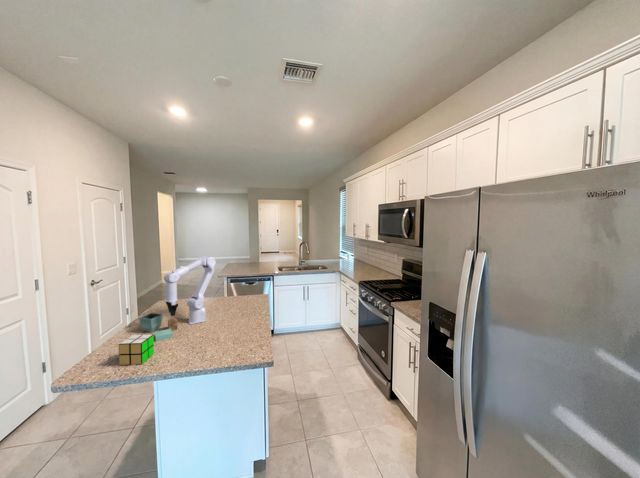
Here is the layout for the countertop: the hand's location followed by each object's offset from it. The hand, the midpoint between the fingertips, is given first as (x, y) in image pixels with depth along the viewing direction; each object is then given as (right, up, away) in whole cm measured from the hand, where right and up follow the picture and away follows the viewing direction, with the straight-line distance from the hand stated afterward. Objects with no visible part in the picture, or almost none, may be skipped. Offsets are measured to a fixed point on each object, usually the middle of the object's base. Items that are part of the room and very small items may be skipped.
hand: (171, 314), depth 156 cm
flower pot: (-11, -10, -2) cm, 15 cm away
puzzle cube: (+4, -11, -36) cm, 38 cm away
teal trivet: (+2, -10, -11) cm, 15 cm away
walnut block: (0, -9, 0) cm, 9 cm away
